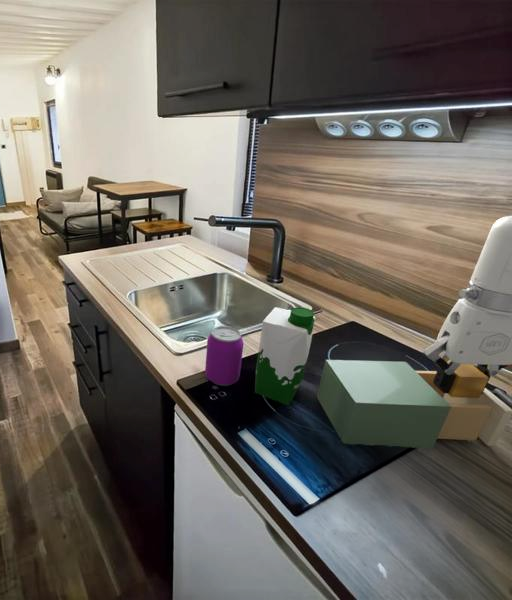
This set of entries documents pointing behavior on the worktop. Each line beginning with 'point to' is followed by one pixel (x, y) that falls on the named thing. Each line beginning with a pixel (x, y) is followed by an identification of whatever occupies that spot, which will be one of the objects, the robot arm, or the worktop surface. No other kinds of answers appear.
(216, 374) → the beverage can
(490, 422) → the drawer
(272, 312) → the milk carton
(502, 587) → the worktop surface
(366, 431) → the cabinet
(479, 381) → the block
